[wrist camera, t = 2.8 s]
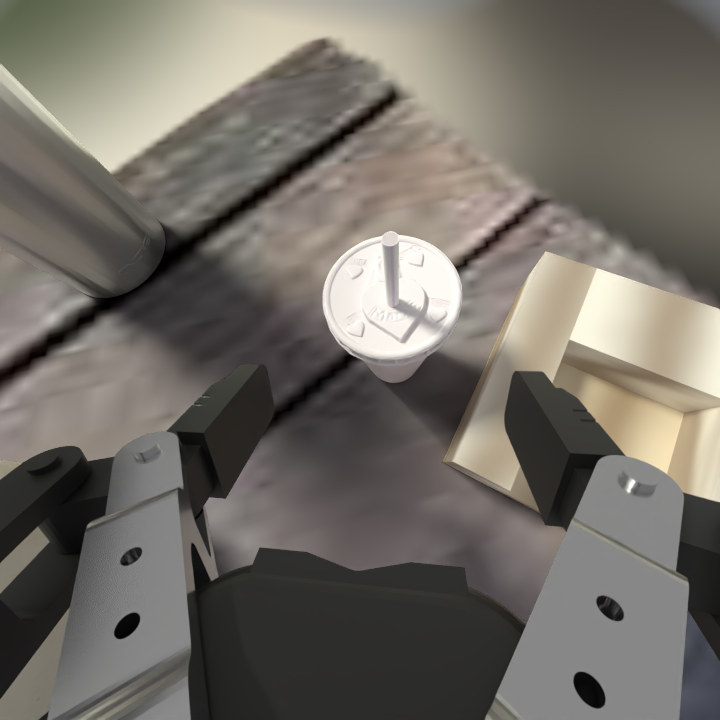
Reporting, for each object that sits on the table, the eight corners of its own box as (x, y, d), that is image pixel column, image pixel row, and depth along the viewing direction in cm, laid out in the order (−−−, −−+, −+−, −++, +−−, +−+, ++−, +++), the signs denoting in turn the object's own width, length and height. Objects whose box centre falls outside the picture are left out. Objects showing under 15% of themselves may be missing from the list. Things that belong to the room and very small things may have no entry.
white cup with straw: (357, 408, 23) (298, 333, 10) (345, 326, 25) (283, 170, 12) (447, 393, 22) (518, 292, 9) (428, 311, 24) (462, 131, 11)
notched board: (442, 461, 21) (453, 461, 17) (519, 288, 24) (545, 251, 20) (681, 587, 18) (770, 627, 13) (736, 368, 21) (823, 343, 16)
